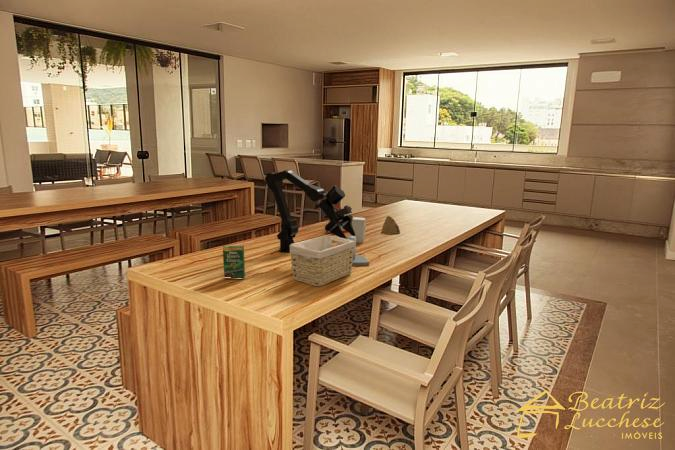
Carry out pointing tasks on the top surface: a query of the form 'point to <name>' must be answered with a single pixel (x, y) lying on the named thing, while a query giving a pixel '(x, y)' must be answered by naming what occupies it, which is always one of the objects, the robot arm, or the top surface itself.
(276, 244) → the top surface
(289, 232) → the robot arm
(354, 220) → the supplement box
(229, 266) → the coffee box
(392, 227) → the rock
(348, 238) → the white dome-topped cylinder
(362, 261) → the shelf board
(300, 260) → the storage basket
